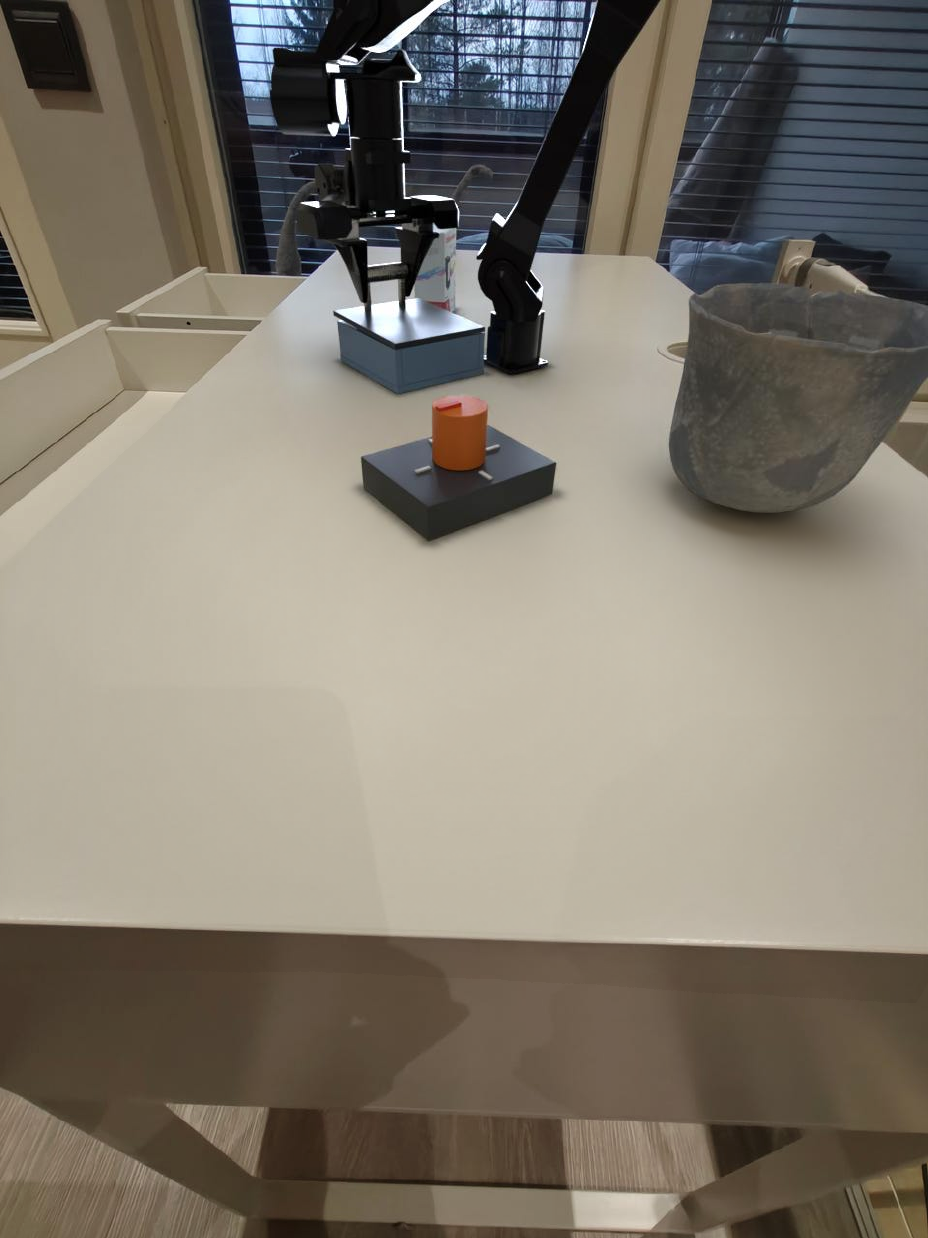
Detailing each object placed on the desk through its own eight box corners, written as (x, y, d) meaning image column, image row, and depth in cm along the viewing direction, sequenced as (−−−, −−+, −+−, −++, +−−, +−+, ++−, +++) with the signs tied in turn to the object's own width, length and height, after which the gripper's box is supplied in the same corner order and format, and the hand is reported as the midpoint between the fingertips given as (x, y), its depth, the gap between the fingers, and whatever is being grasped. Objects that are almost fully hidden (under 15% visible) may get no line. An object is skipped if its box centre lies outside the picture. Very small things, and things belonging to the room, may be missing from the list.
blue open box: (341, 361, 76) (336, 320, 73) (422, 345, 82) (421, 307, 79) (397, 393, 68) (395, 349, 65) (483, 373, 74) (485, 332, 71)
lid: (333, 315, 73) (328, 265, 69) (418, 302, 79) (418, 256, 75) (395, 349, 65) (393, 294, 61) (485, 332, 71) (488, 281, 67)
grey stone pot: (761, 441, 61) (823, 275, 51) (911, 530, 48) (1032, 333, 38) (610, 464, 56) (647, 286, 46) (735, 570, 43) (823, 356, 33)
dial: (464, 442, 51) (465, 387, 48) (495, 461, 49) (499, 404, 46) (422, 455, 49) (420, 398, 46) (453, 476, 47) (453, 416, 44)
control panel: (481, 451, 57) (482, 419, 55) (552, 494, 51) (557, 460, 49) (363, 488, 51) (360, 454, 49) (428, 541, 45) (427, 505, 43)
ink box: (444, 322, 91) (445, 231, 83) (413, 320, 91) (411, 229, 83) (456, 308, 97) (457, 223, 89) (427, 306, 98) (426, 221, 90)
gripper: (408, 134, 73) (412, 278, 83) (263, 133, 64) (288, 294, 74) (463, 139, 66) (460, 295, 76) (309, 139, 57) (329, 315, 68)
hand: (385, 299), depth 74 cm, fingers closed on lid, 6 cm apart
